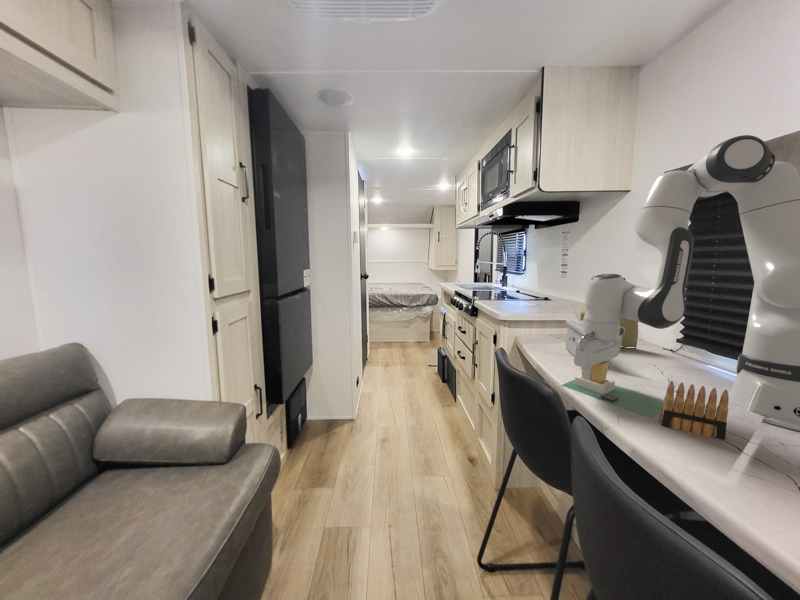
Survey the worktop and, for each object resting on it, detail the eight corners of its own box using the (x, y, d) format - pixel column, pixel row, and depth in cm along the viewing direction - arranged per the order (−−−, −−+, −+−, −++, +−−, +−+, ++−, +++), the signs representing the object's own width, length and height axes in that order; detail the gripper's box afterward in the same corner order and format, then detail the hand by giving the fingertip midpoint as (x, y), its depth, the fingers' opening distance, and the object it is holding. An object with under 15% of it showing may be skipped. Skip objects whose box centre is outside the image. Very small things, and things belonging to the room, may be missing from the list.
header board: (670, 407, 82) (672, 394, 81) (650, 422, 74) (652, 408, 73) (584, 379, 100) (585, 368, 99) (560, 388, 92) (561, 377, 92)
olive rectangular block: (634, 346, 138) (638, 313, 136) (637, 352, 129) (642, 317, 127) (577, 339, 149) (580, 308, 146) (577, 344, 140) (580, 311, 138)
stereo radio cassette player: (605, 366, 111) (611, 313, 108) (580, 365, 113) (585, 311, 110) (583, 349, 132) (587, 304, 129) (562, 348, 133) (566, 303, 130)
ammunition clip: (660, 430, 71) (667, 381, 69) (658, 426, 72) (665, 378, 71) (724, 445, 65) (734, 392, 64) (721, 441, 67) (730, 389, 65)
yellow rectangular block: (604, 388, 90) (607, 362, 89) (599, 391, 88) (602, 364, 87) (584, 381, 95) (587, 356, 94) (579, 384, 93) (581, 358, 92)
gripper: (594, 337, 80) (588, 387, 82) (627, 328, 91) (622, 372, 93) (569, 332, 85) (565, 379, 87) (604, 324, 96) (599, 366, 98)
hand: (595, 375), depth 90 cm, fingers open, 8 cm apart
